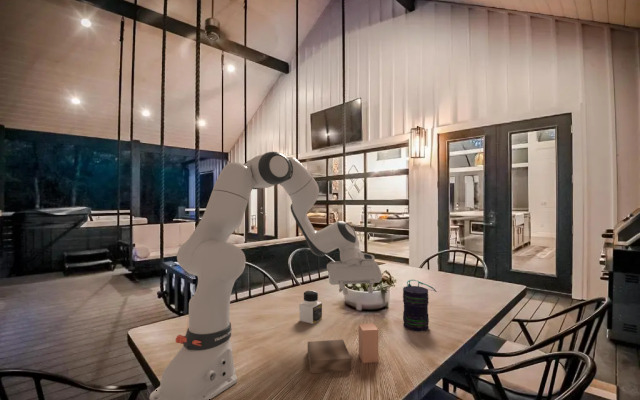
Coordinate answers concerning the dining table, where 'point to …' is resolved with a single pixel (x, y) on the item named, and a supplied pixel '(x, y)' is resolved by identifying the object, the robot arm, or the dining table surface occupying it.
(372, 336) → the terracotta block
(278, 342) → the dining table surface
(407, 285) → the sunglasses
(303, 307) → the medicine bottle
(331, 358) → the walnut block
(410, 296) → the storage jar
